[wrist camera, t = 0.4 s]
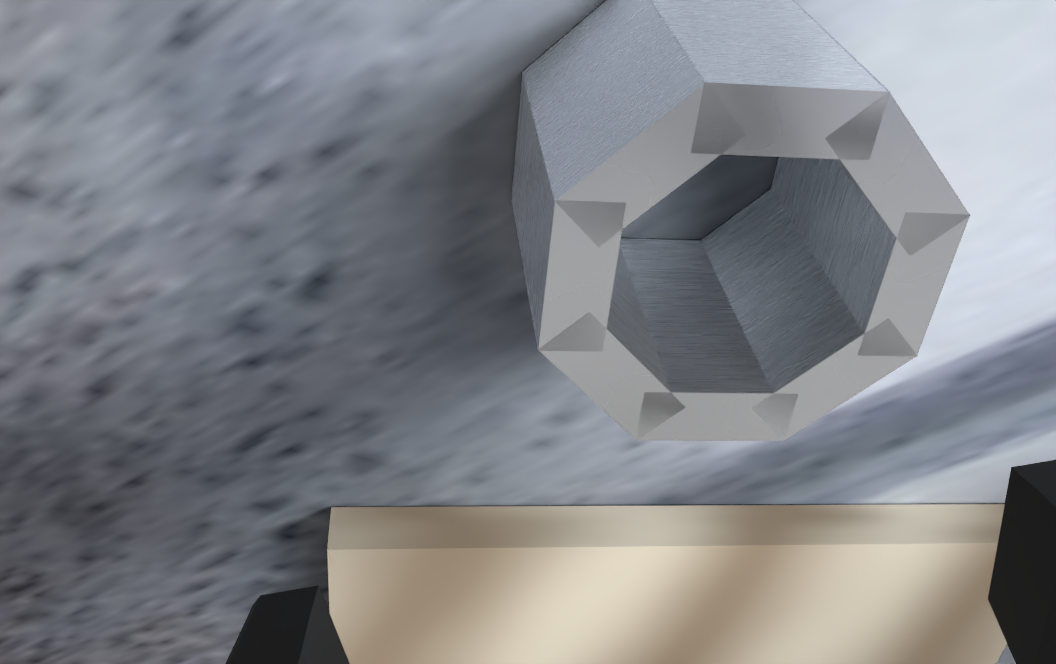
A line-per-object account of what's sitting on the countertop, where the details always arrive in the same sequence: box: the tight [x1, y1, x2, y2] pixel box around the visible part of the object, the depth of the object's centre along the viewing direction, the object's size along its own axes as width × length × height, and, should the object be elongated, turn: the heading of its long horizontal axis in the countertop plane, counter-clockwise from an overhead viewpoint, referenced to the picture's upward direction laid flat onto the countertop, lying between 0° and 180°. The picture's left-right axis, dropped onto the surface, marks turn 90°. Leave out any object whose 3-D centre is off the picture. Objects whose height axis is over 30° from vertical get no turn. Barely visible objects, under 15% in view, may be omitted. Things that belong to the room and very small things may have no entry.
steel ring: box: [511, 0, 970, 441], centre depth 15 cm, size 6×6×4 cm
